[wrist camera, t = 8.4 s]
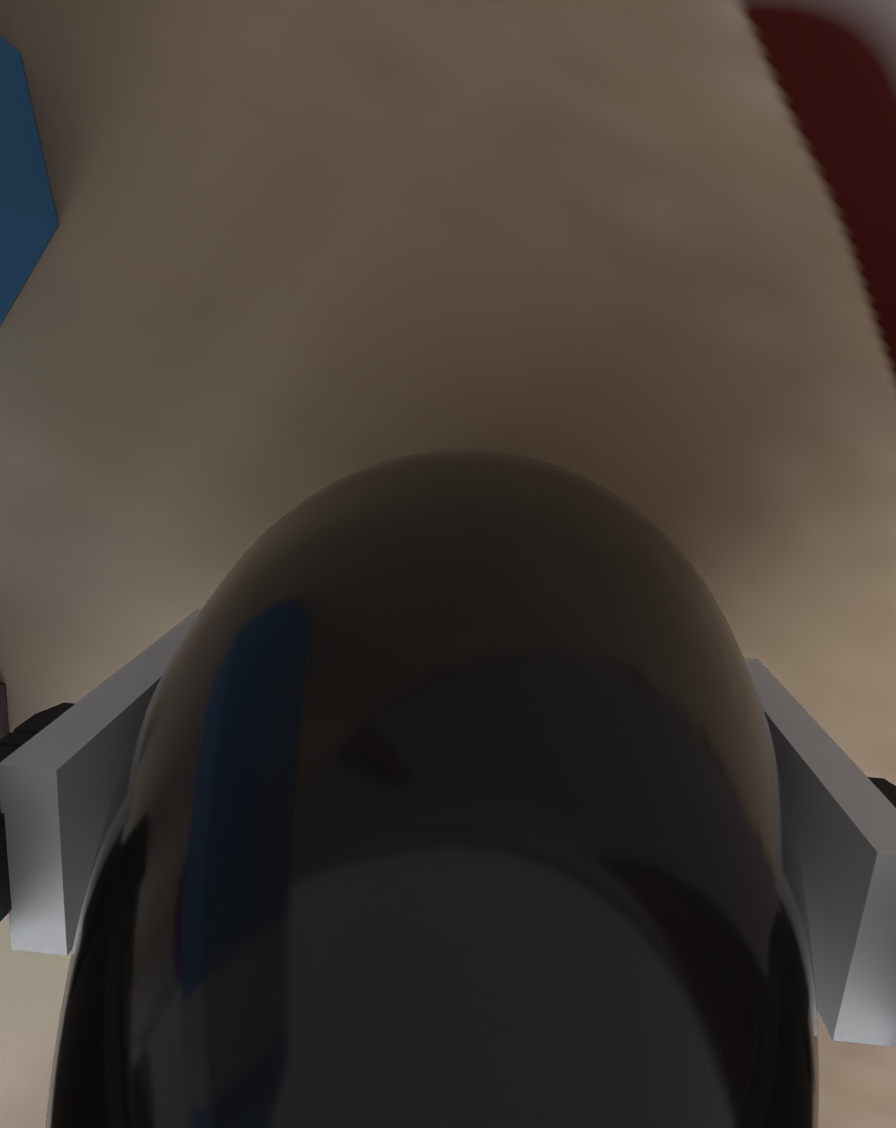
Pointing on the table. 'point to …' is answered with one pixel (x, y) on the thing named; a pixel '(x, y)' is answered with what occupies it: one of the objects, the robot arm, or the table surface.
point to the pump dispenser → (447, 836)
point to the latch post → (3, 712)
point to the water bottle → (20, 182)
